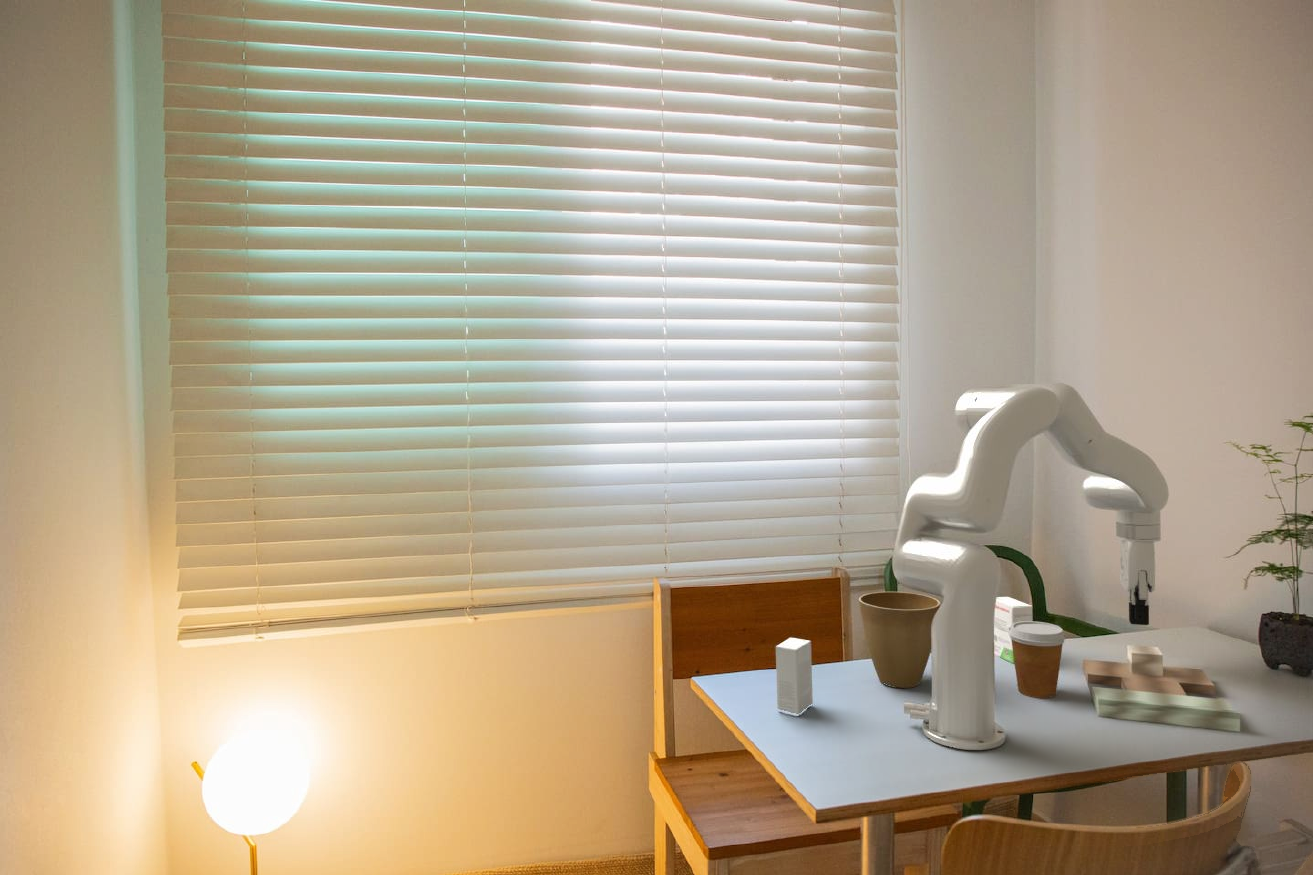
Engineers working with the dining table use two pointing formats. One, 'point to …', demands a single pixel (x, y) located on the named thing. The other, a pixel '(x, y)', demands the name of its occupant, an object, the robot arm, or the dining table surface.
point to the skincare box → (794, 675)
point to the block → (1145, 660)
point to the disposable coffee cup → (1037, 657)
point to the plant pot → (898, 634)
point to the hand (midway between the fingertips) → (1138, 623)
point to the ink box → (1008, 624)
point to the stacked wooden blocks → (1158, 696)
